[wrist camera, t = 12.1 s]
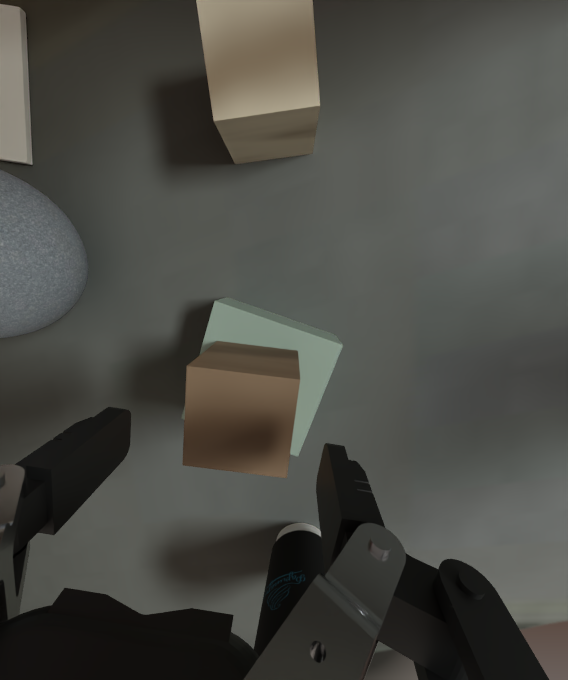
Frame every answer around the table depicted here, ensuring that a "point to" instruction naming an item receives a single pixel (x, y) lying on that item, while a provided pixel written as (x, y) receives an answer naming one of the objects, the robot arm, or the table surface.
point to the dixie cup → (288, 577)
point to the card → (14, 87)
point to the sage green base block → (280, 332)
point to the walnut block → (241, 408)
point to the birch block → (262, 75)
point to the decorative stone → (36, 259)
